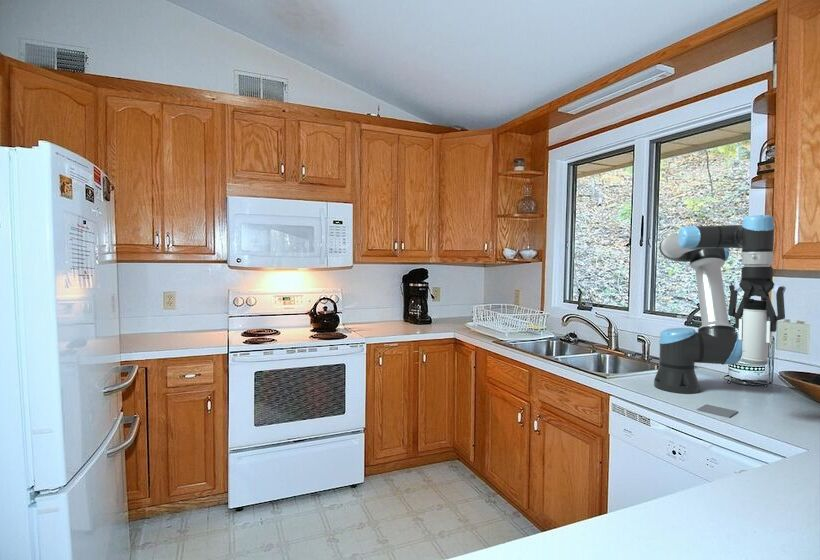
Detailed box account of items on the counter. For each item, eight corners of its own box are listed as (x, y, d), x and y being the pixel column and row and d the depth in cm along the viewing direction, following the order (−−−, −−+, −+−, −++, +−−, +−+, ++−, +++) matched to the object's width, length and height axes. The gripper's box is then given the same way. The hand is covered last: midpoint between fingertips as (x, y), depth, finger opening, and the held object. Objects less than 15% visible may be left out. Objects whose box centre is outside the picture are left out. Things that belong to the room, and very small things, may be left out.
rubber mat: (706, 405, 148) (706, 404, 148) (737, 412, 141) (737, 411, 141) (697, 410, 143) (697, 409, 143) (729, 417, 136) (729, 416, 136)
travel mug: (736, 361, 136) (737, 298, 135) (750, 359, 138) (751, 297, 138) (758, 365, 130) (760, 299, 129) (772, 363, 132) (774, 298, 132)
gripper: (716, 266, 138) (714, 337, 139) (794, 266, 123) (792, 346, 124) (724, 265, 143) (722, 335, 144) (801, 266, 128) (798, 343, 129)
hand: (754, 340), depth 134 cm, fingers closed on travel mug, 6 cm apart
